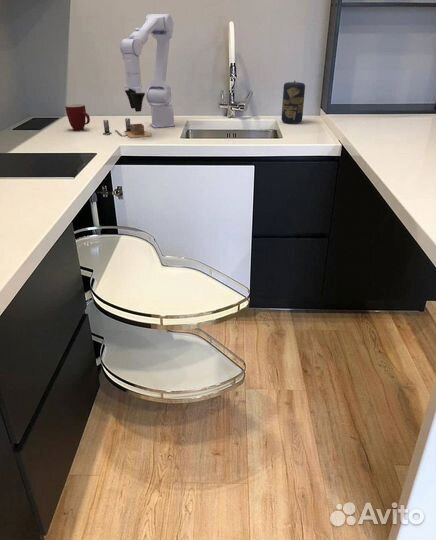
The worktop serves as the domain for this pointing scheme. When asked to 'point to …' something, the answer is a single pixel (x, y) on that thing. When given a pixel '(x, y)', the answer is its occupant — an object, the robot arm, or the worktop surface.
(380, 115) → the worktop surface
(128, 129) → the post
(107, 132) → the post
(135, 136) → the pad
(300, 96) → the canister
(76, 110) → the mug
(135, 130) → the open wooden crate
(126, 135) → the grey flat l-shaped piece
